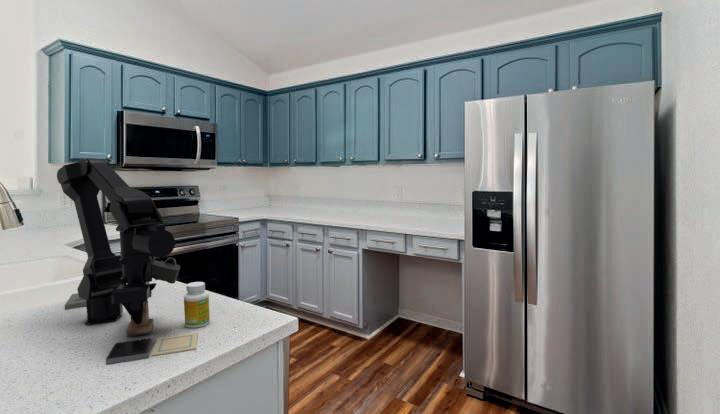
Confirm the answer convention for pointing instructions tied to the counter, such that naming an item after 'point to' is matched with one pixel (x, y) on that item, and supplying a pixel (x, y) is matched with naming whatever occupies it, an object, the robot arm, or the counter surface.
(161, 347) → the card
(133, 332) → the stamp
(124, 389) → the counter surface
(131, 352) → the ink pad
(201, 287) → the supplement bottle
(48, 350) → the counter surface
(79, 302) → the soap mold
